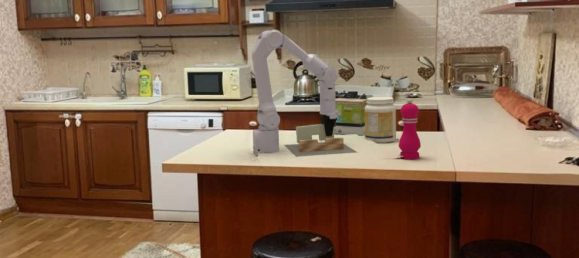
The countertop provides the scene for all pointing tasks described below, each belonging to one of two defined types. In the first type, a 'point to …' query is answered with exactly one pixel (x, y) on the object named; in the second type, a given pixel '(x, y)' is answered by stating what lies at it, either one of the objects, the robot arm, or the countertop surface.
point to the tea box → (350, 116)
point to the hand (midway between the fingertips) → (328, 135)
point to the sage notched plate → (312, 132)
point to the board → (295, 150)
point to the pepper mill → (409, 132)
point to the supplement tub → (380, 120)
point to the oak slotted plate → (314, 146)
